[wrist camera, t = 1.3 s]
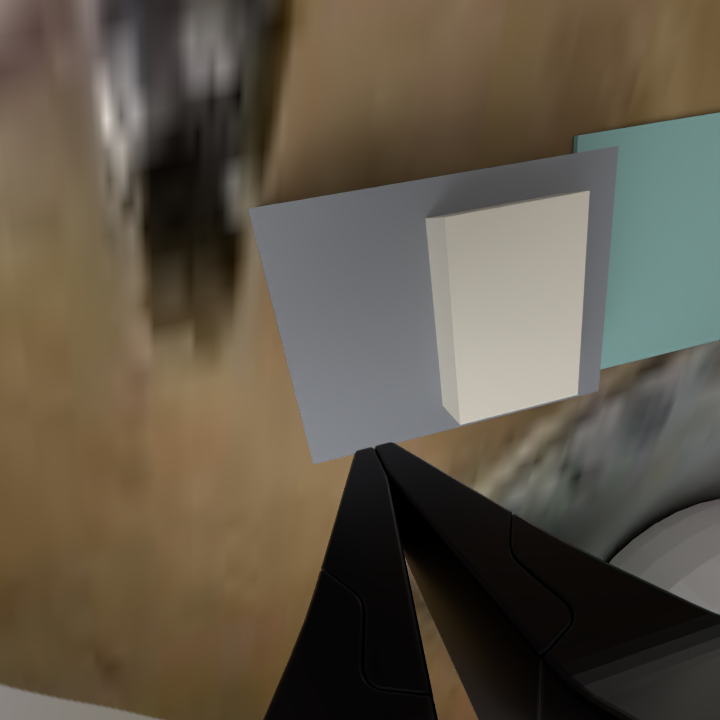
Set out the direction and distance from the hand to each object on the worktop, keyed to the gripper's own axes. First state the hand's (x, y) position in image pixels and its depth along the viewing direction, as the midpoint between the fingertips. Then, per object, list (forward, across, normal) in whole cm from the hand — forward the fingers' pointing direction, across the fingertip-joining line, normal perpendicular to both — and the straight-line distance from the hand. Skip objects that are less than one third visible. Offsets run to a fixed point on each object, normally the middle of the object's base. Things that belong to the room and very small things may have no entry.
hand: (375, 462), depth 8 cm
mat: (+13, -22, 0) cm, 26 cm away
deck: (+13, -6, 0) cm, 14 cm away
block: (+9, -8, 0) cm, 12 cm away
